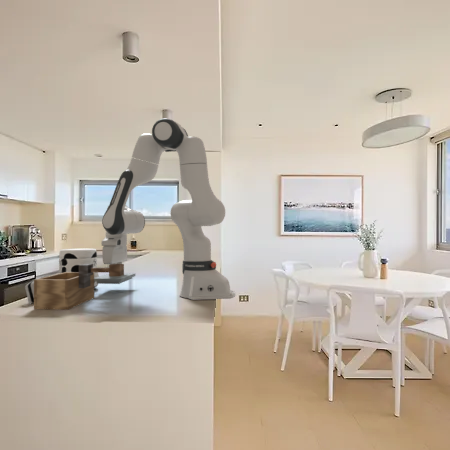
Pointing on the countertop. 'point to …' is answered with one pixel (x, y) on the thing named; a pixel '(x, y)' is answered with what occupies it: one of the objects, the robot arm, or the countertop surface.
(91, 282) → the box
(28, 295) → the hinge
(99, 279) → the lid
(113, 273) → the wooden mallet
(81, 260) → the milk container
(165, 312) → the countertop surface
